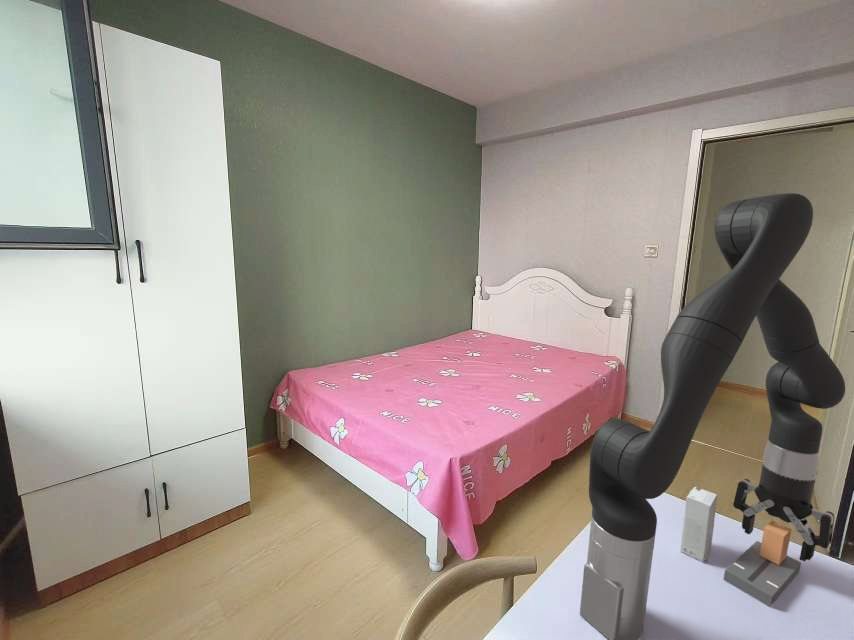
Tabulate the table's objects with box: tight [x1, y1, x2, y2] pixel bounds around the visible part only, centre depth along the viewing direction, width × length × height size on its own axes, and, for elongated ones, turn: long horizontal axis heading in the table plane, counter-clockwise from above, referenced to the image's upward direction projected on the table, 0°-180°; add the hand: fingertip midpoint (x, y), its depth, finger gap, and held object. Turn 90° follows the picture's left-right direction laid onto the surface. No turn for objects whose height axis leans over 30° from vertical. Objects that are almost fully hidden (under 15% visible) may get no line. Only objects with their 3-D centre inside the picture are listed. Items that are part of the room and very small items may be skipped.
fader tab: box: [760, 520, 792, 565], centre depth 79 cm, size 4×3×6 cm
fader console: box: [723, 540, 802, 607], centre depth 77 cm, size 15×7×2 cm, turn 123°
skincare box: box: [680, 486, 718, 563], centre depth 83 cm, size 6×4×12 cm
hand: (775, 545), depth 79 cm, fingers open, 8 cm apart
